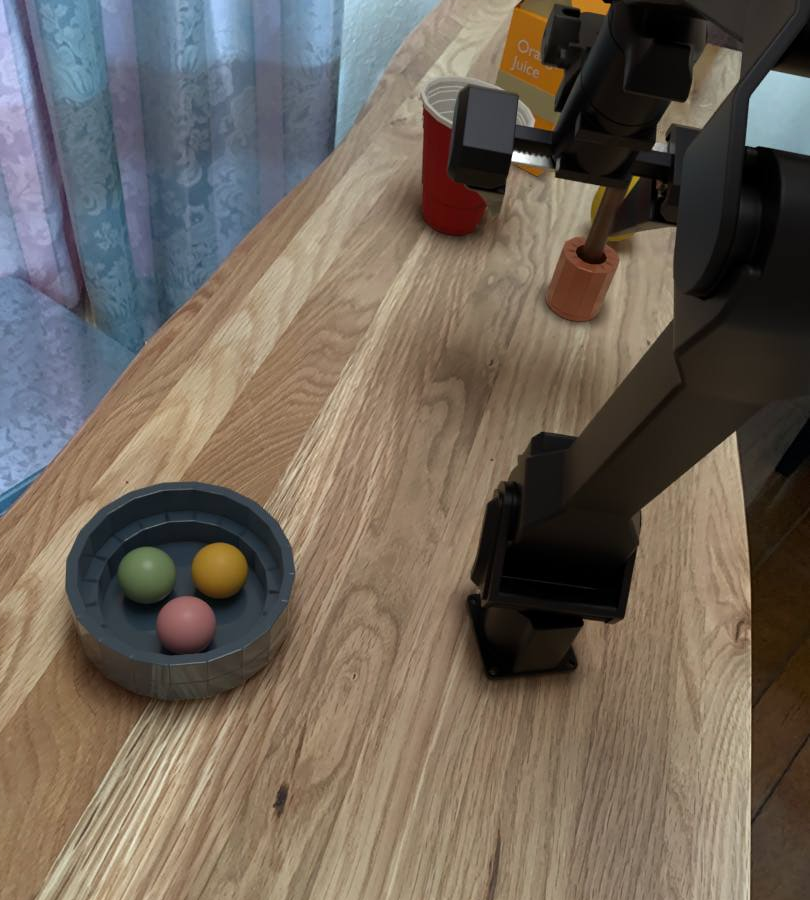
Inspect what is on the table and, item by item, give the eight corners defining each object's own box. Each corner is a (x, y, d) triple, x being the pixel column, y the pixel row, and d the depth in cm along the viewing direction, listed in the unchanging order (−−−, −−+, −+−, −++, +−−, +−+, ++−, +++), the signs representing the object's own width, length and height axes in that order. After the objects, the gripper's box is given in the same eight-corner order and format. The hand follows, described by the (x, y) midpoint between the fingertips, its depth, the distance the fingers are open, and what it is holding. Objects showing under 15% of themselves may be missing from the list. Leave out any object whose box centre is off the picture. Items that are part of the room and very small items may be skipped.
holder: (605, 321, 82) (626, 273, 78) (554, 321, 81) (573, 272, 77) (589, 286, 85) (608, 237, 81) (539, 285, 84) (556, 236, 80)
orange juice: (574, 148, 101) (638, -46, 85) (538, 177, 96) (599, -24, 80) (516, 119, 103) (569, -76, 87) (478, 146, 98) (527, -56, 82)
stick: (585, 305, 83) (641, 168, 72) (567, 305, 82) (621, 167, 71) (579, 293, 84) (633, 155, 73) (562, 292, 83) (613, 154, 72)
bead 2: (218, 663, 54) (218, 633, 52) (158, 668, 54) (154, 638, 51) (215, 613, 56) (214, 582, 54) (157, 617, 56) (153, 586, 53)
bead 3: (249, 607, 57) (251, 576, 54) (193, 611, 56) (191, 580, 53) (245, 561, 59) (246, 530, 56) (190, 565, 58) (188, 533, 56)
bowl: (300, 693, 55) (306, 654, 51) (73, 715, 52) (61, 675, 48) (278, 522, 62) (282, 477, 58) (79, 533, 59) (68, 485, 55)
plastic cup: (522, 246, 88) (558, 131, 78) (423, 256, 84) (448, 137, 74) (477, 184, 93) (506, 69, 84) (383, 191, 89) (402, 71, 80)
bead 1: (178, 612, 56) (176, 581, 53) (119, 616, 55) (114, 585, 52) (176, 566, 58) (174, 533, 55) (119, 569, 57) (114, 536, 54)
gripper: (779, -2, 55) (673, 150, 70) (488, -63, 53) (445, 106, 68) (772, 157, 53) (665, 277, 68) (469, 99, 51) (429, 236, 66)
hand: (552, 221), depth 68 cm, fingers open, 9 cm apart
